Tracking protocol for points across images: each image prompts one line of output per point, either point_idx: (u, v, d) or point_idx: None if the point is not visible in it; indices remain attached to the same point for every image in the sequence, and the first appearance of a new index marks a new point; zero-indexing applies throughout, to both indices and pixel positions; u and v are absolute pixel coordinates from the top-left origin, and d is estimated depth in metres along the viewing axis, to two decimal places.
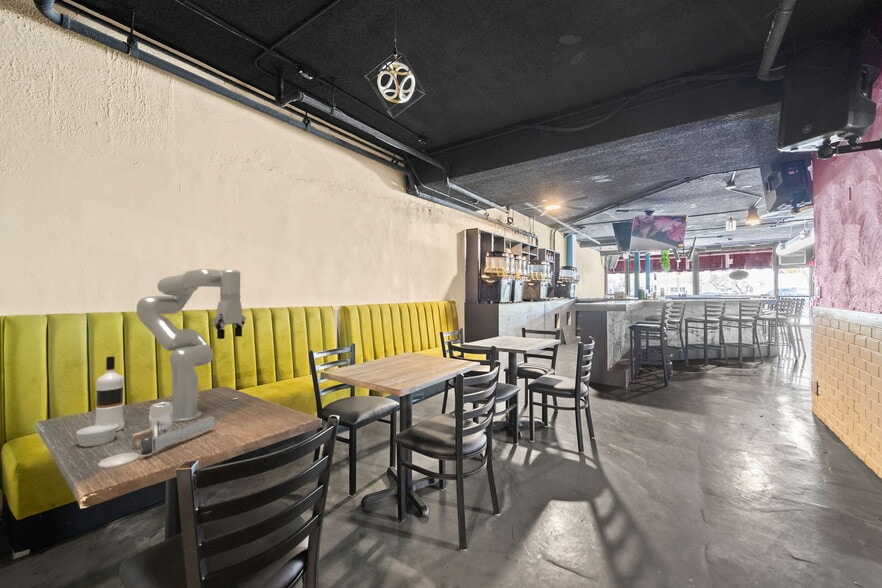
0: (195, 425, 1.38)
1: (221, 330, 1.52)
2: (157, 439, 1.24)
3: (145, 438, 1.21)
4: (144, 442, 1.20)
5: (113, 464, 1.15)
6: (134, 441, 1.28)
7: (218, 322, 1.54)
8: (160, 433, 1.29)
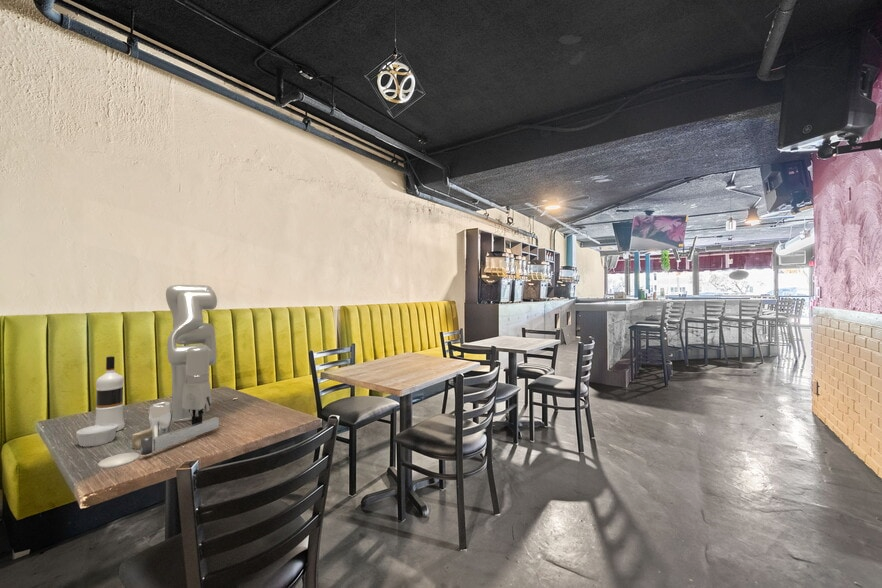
0: (198, 425, 1.37)
1: None
2: (157, 439, 1.24)
3: (145, 438, 1.21)
4: (144, 442, 1.20)
5: (113, 464, 1.15)
6: (134, 441, 1.28)
7: (197, 408, 1.38)
8: (160, 433, 1.29)
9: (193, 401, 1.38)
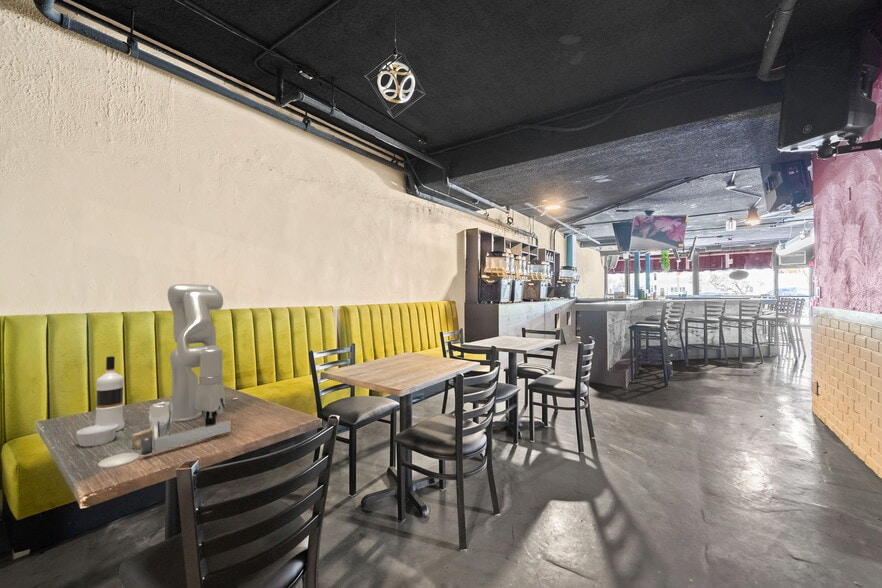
0: (205, 428, 1.35)
1: None
2: (158, 440, 1.23)
3: (145, 438, 1.21)
4: (142, 442, 1.20)
5: (113, 464, 1.15)
6: (134, 441, 1.28)
7: (211, 409, 1.36)
8: (160, 433, 1.29)
9: (207, 403, 1.37)
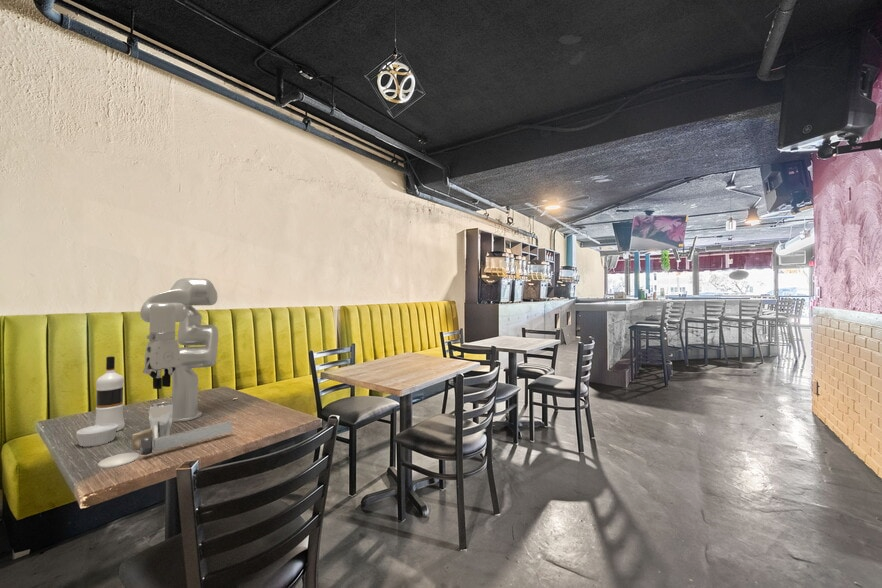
0: (206, 428, 1.34)
1: None
2: (158, 440, 1.23)
3: (145, 438, 1.21)
4: (142, 442, 1.20)
5: (113, 464, 1.15)
6: (134, 441, 1.28)
7: (176, 364, 1.34)
8: (160, 433, 1.29)
9: (171, 358, 1.32)
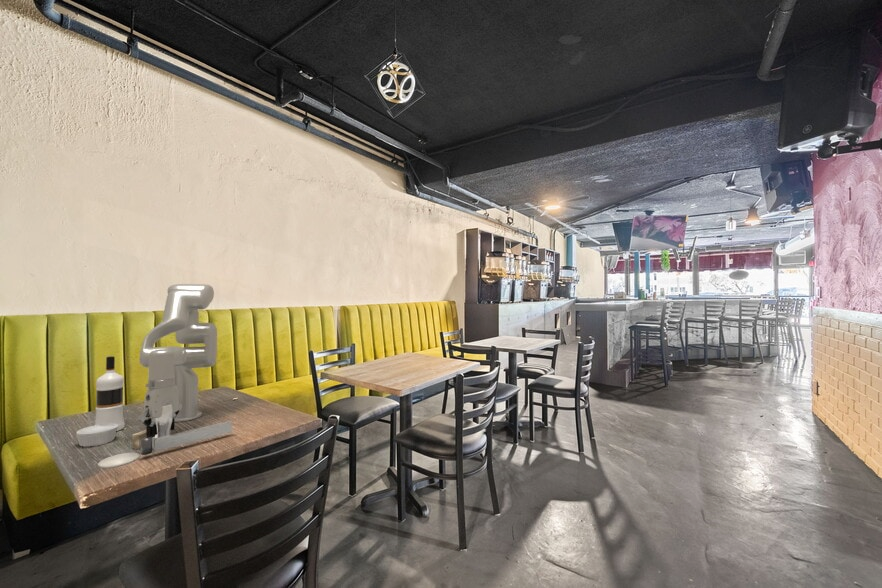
0: (206, 428, 1.34)
1: None
2: (158, 440, 1.23)
3: (145, 438, 1.21)
4: (142, 442, 1.20)
5: (113, 464, 1.15)
6: (134, 441, 1.28)
7: (175, 410, 1.34)
8: (160, 433, 1.29)
9: None
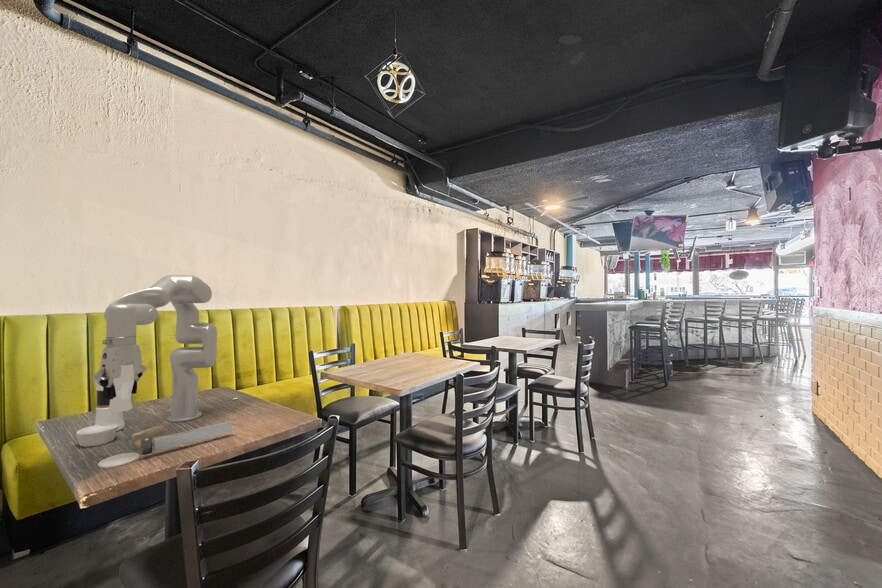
0: (206, 428, 1.34)
1: None
2: (158, 440, 1.23)
3: (145, 438, 1.21)
4: (142, 442, 1.20)
5: (113, 464, 1.15)
6: (134, 441, 1.28)
7: (138, 371, 1.22)
8: (119, 395, 1.17)
9: None
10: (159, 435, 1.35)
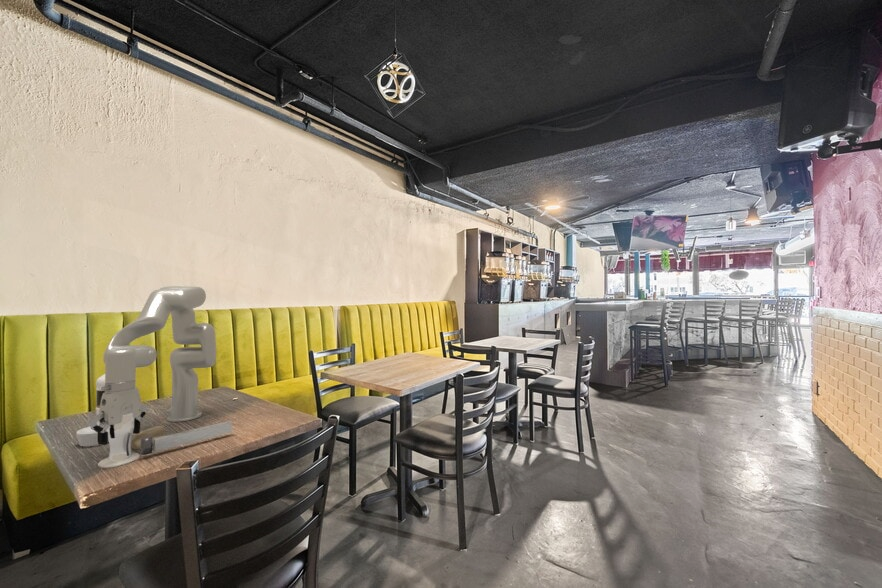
0: (206, 428, 1.34)
1: None
2: (158, 440, 1.23)
3: (145, 438, 1.21)
4: (142, 442, 1.20)
5: (113, 464, 1.15)
6: (134, 441, 1.28)
7: (137, 415, 1.22)
8: (119, 445, 1.17)
9: (130, 410, 1.20)
10: (159, 435, 1.35)
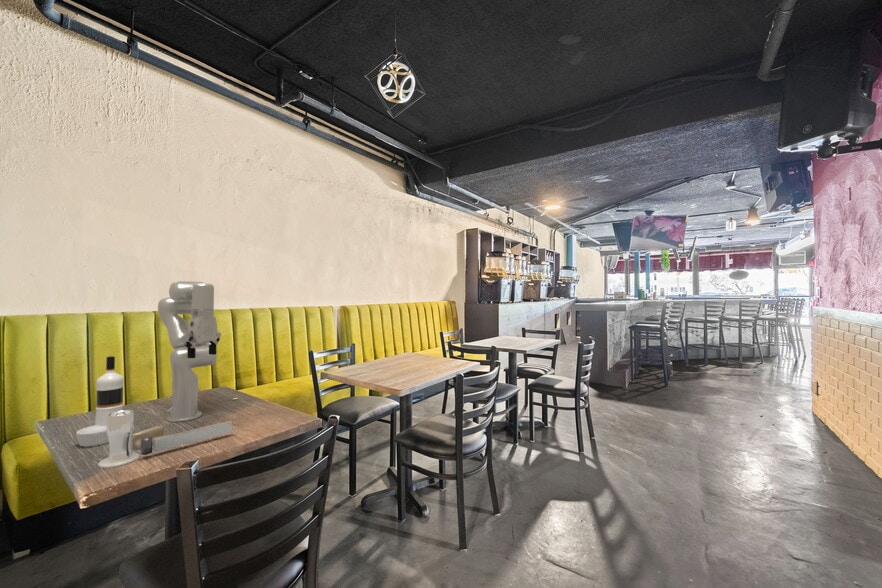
0: (206, 428, 1.34)
1: None
2: (158, 440, 1.23)
3: (145, 438, 1.21)
4: (142, 442, 1.20)
5: (113, 464, 1.15)
6: (134, 441, 1.28)
7: (215, 338, 1.49)
8: (119, 445, 1.17)
9: (210, 333, 1.47)
10: (159, 435, 1.35)
